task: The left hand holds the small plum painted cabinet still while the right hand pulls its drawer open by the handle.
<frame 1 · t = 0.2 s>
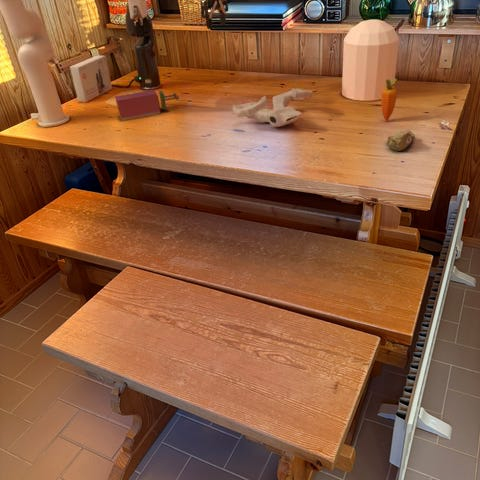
left hand: (143, 34, 176), 31 cm above the table, tool pointing down, fingers open, 9 cm apart
right hand: (216, 26, 186), 29 cm above the table, tool pointing down, fingers open, 8 cm apart
container: (367, 92, 193), on the table
drawer: (153, 102, 193), point 4 cm above the table, slide at 1.8 cm
rock: (401, 146, 148), on the table
beige irregular branched piece: (279, 124, 171), on the table
carrot: (386, 121, 166), on the table
skincare box: (96, 95, 222), on the table
cabinet: (139, 114, 194), on the table
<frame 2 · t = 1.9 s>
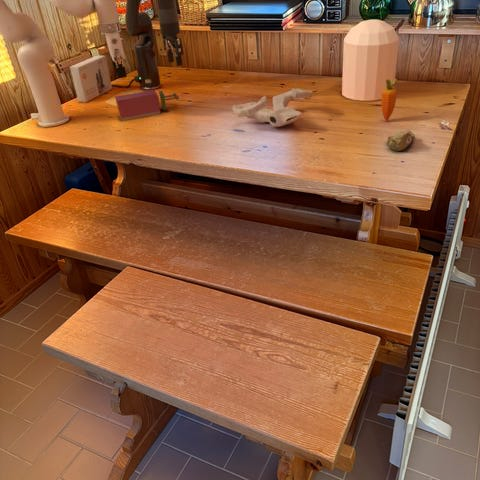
left hand: (121, 74, 183), 17 cm above the table, tool pointing down, fingers open, 9 cm apart
right hand: (175, 64, 188), 18 cm above the table, tool pointing down, fingers open, 8 cm apart
nothing on the table moved.
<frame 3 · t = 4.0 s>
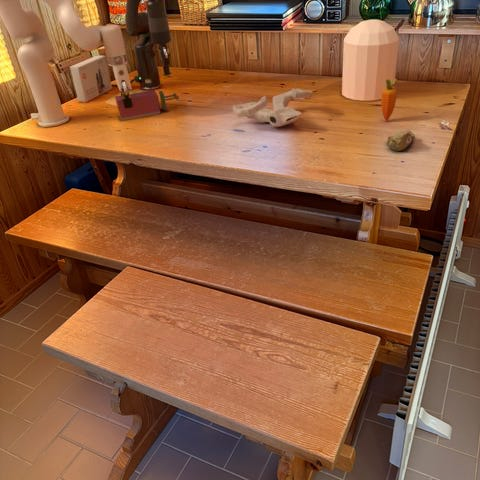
left hand: (127, 104, 190), 5 cm above the table, tool pointing down, fingers closed on cabinet, 6 cm apart
right hand: (167, 74, 189), 14 cm above the table, tool pointing down, fingers closed
cabinet: (139, 114, 194), on the table, touching left hand
everything else where it was.
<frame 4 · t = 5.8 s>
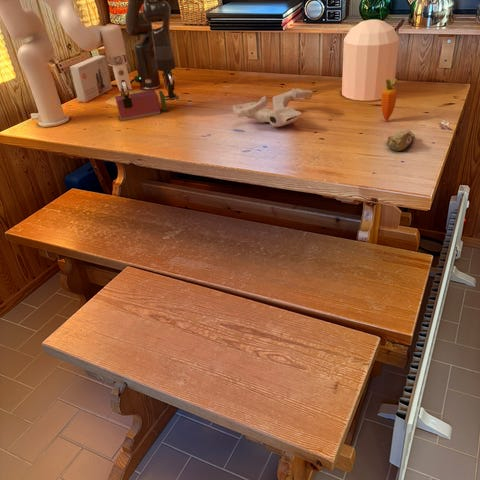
left hand: (127, 104, 190), 5 cm above the table, tool pointing down, fingers closed on cabinet, 6 cm apart
right hand: (171, 99, 195), 4 cm above the table, tool pointing down, fingers closed
drawer: (153, 102, 193), point 4 cm above the table, slide at 1.8 cm, touching right hand
cabinet: (139, 114, 194), on the table, touching left hand
everything else where it was.
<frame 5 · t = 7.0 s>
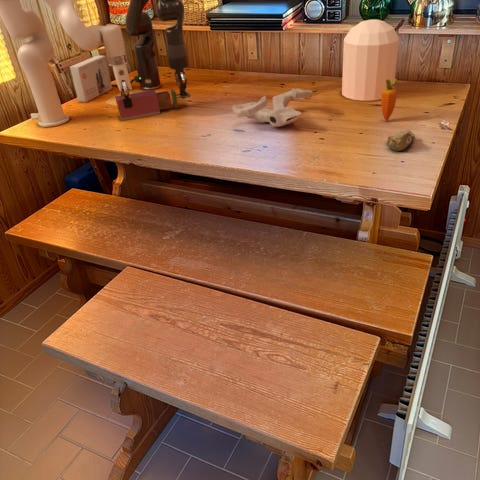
left hand: (127, 104, 190), 5 cm above the table, tool pointing down, fingers closed on cabinet, 6 cm apart
right hand: (183, 97, 196), 4 cm above the table, tool pointing down, fingers closed
drawer: (165, 100, 194), point 4 cm above the table, slide at 6.7 cm, touching right hand
cabinet: (140, 114, 194), on the table, touching left hand
everything else where it was.
when the left hand's fingers open (5 cm above the table, at t = 9.1 s): cabinet stays where it is, on the table.
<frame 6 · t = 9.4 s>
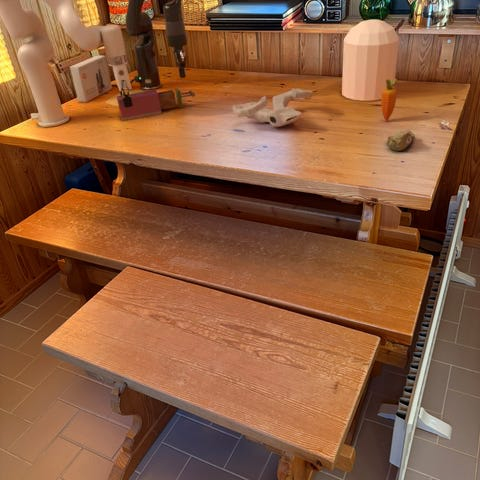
left hand: (127, 103, 190), 6 cm above the table, tool pointing down, fingers open, 9 cm apart
right hand: (182, 77, 192), 12 cm above the table, tool pointing down, fingers closed
drawer: (169, 99, 194), point 4 cm above the table, slide at 8.2 cm
cabinet: (141, 114, 194), on the table
everything else where it was.
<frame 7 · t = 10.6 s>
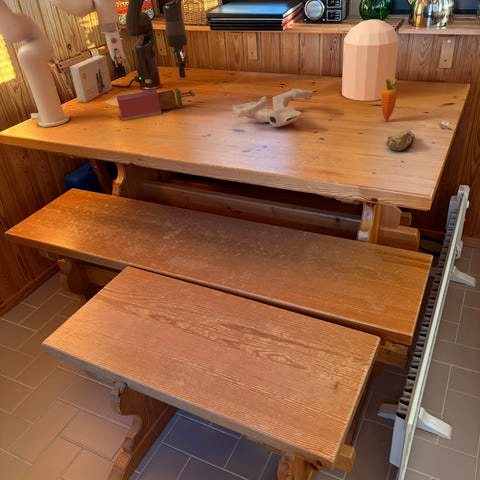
left hand: (120, 74, 183), 17 cm above the table, tool pointing down, fingers open, 9 cm apart
right hand: (182, 77, 192), 12 cm above the table, tool pointing down, fingers closed
nothing on the table moved.
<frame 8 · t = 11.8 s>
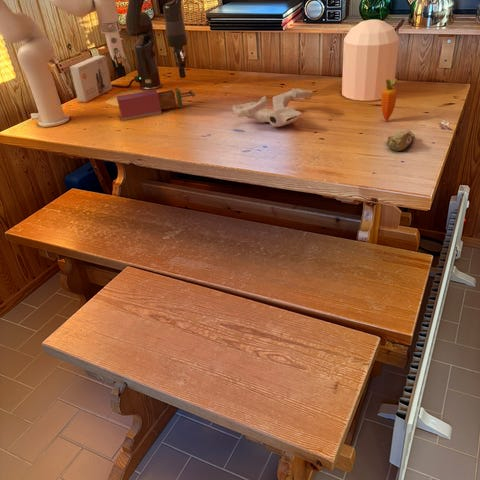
left hand: (120, 73, 183), 17 cm above the table, tool pointing down, fingers open, 9 cm apart
right hand: (182, 77, 192), 12 cm above the table, tool pointing down, fingers closed
nothing on the table moved.
at the end: drawer slide at 8.2 cm; cabinet tilted 0°; cabinet never tilted more than 3° during the clip; cabinet moved 0.5 cm from its start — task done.
